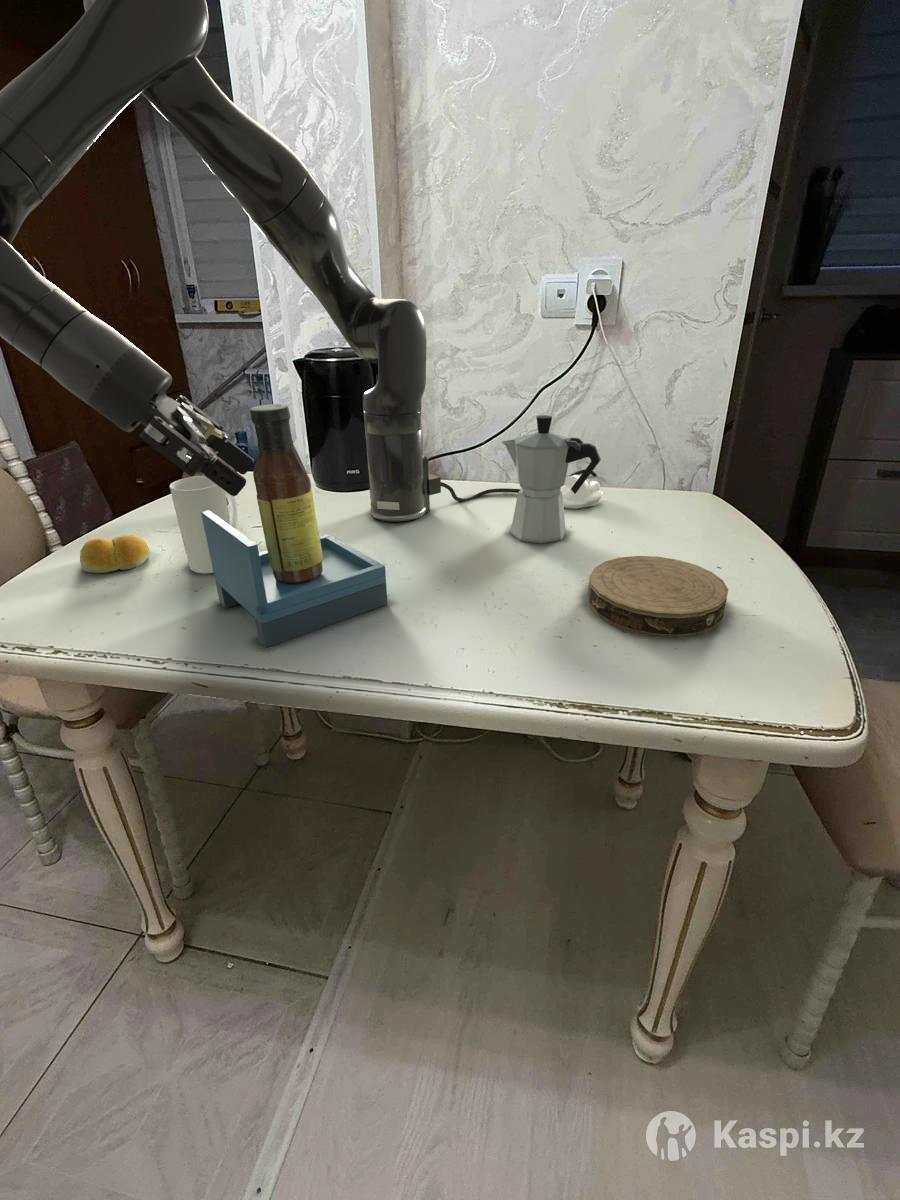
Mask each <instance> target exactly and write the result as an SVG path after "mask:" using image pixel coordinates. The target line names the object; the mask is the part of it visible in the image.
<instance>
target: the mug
mask: <svg viewBox="0 0 900 1200" xmlns="http://www.w3.org/2000/svg"><path fill="white" fill-rule="evenodd" d="M168 487H169V489H170V494H171V499H172V503H173V508H174V511H175V514H176V515H175V516H176V519H177V523H178V527H179V531H180V535H181V539H182V542H183V547H184V551H185V554H186V558H187V562H188V564H189V565H188V566H189V569H190V570H191V571H192V572H194V573H197V574H205V575H206V574H214V573H213V568H212V563H211V558H210V553H209V548H208V544H207V539H206V534H205V529H204V524H203V520H202V515H201V512H203V511H207V510H210V511H211V512H212V513H214V514H215V515H217V516H218V517H220V518H221V519H222V520H224V521H225V522H227V523H228V524H229V525H231V526H232V527H234V528H235V529H236V530H237V528H238V527H237V526H238V525H237V524H238V507H237V501H236V496H231V495H230V494H229V493H227V492H226V491H225V490H223V489H222V488H221V487H219V486H218V485H216V484H215V483H214V482H212V481H211V480H210V479H208V478H207V477H206V476H195V477H189V478H184V479H182V478H181V479H178V480H175V481H173V482H171V483H170V484H169V486H168ZM226 497H227V500H228V503H229V505H228V506H227V501H226Z"/></svg>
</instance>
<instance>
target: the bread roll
mask: <svg viewBox="0 0 900 1200" xmlns="http://www.w3.org/2000/svg"><path fill="white" fill-rule="evenodd" d="M150 557H151V548H150V546H149V544H148V542H147V541H146V540H144V538H142V537H140V536H138V535H135V534H129V535H119V536H116V537H114V538H112V539H109V538H104V537H98V538H92V539H90V540H89V539H88V541H86V542H85V543H84V544H83V546H82V547H81V550H80V551H79V563H80V566H81V570H83V571H85V572H87V573H90V574H91V573H92V574H105V573H111V572H116V571H118V570H123V571H124V570H131V569H135V568H138V567H139V566H141V565H142V564H143V563H145V562H146V561H147V560H148V559H149V558H150Z"/></svg>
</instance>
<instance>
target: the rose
mask: <svg viewBox="0 0 900 1200" xmlns="http://www.w3.org/2000/svg"><path fill="white" fill-rule="evenodd" d="M581 475H582V474H579V475H573V476H568V475H567V476H568V477H566V478H565V483H564V485H563V486H562V487H561V489H560V491H561V492H562V496H563V507H564V508H566V509H572V510H573V509H574V510H576V509H582V508H587V507H588V508H589V507H595V506H597V504H598V503H599V502H600V500H601V499H602V497H603V495H604V494H603V491H602V490H601V484H600V482H598V481H596V480H592V481H591V480H589V477H588V478H587V479H586V480H585V482H584V483H583V484H582V486H581V487H580V488H579V490H578V491H577V492H576V494H574V492H573V491H572V490H571V488H572V487H573V485H574V484H575V483H576V481H577V480H578V479H579V477H580V476H581Z"/></svg>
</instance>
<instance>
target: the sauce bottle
mask: <svg viewBox="0 0 900 1200" xmlns="http://www.w3.org/2000/svg"><path fill="white" fill-rule="evenodd" d="M289 409H290V408H289V406H288V405H287V404H282V403H272V404H270V403H269V404H262V405H256V406H253V407H251V408H250V409H249V412H250V413H249V414H250V418H251V422H252V423H253V425H254V430H255V434H256V441H257V445H256V446H257V448H258V455H257V461H256V463H255V465H254V468H253V472H252V477H253V481H254V486H255V491H256V500H257V506H258V510H259V511H258V512H259V516H260V521H261V526H262V530H263V536H264V541H265V545H266V551H268V556H269V561H270V566H271V568H272V569H273V575H274V577H275V579H277V580H279V581H282V582H285V583H303V582H307V581H310V580H313V579H315V578H316V577H318V576H319V575H320V574H321V573H322V572H323V565H322V559H323V555H322V549H321V542H320V536H321V535H320V530H319V524H318V519H317V518H318V517H317V512H316V505H315V501H314V500H315V499H314V493H313V488H312V482H311V478H310V476H309V474H308V472H307V470H306V468H305V465H304V463H303V460H302V459H301V457H300V455H299V453H298V450H297V448H296V446H295V444H294V441H293V437H292V431H291V424H290V420H291V413H290V410H289Z"/></svg>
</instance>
